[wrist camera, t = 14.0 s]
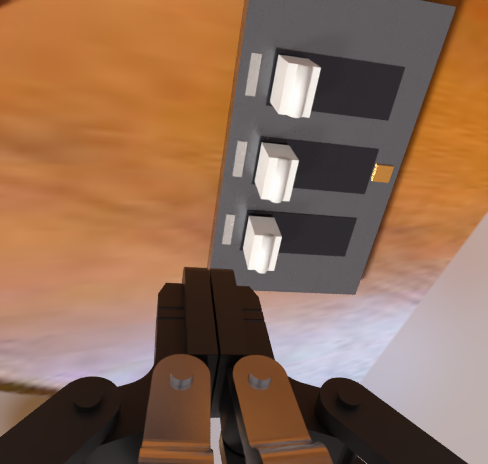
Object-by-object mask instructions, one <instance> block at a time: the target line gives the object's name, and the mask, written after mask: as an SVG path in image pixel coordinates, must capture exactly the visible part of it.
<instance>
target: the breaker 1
mask: <svg viewBox="0 0 488 464" xmlns="http://www.w3.org/2000/svg"><path fill="white" fill-rule="evenodd" d="M281 239H282V236H281V233H280V231H279V228H278V226H277V223H276V221H275V218H272V217H259V216H249V218H248V224H247V229H246V235H245V240H244V245H243V251H244V255H245V260H246V264H247V268H248V270H256V271H257V272H258V273H261V274H264V273H266V272H267V271H274V269H275V265H276V260H277V256H278V252H279V247H280V243H281Z"/></svg>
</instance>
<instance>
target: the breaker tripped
mask: <svg viewBox="0 0 488 464" xmlns="http://www.w3.org/2000/svg"><path fill="white" fill-rule="evenodd" d="M298 162H299V160H298V158H297V157H296V155H295V154H294V152H293V150H292V149H291V147H290V146H289V145H281V144H272V143H263V142H262V144H261V149H260V155H259V160H258V166H257V171H256V177H255V184H256V187H257V189H258V192H259V195H260V198H261V199H266V200H270V201H271V202H274V203H281V201H290V197H291V193H292V188H293V184H294V180H295V175H296V171H297V167H298Z"/></svg>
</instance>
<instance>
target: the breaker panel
mask: <svg viewBox="0 0 488 464" xmlns="http://www.w3.org/2000/svg"><path fill="white" fill-rule="evenodd" d="M455 9H456V7H454V6H449V5H444V4H438V3H433V2H427V1H422V0H245V1H244V8H243V15H242V23H241V30H240V37H239V44H238V51H237V58H236V65H235V72H234V80H233V87H232V94H231V101H230V108H229V115H228V122H227V129H226V137H225V144H224V151H223V158H222V165H221V172H220V179H219V186H218V194H217V201H216V208H215V215H214V222H213V229H212V236H211V243H210V251H209V258H208V265H207V268H208V270H209V268H217V269H233V270H234V274H235V279H236V285H237V286H250V288H251V289H252V290H255V291H279V292H303V293H328V294H352V295H355V294H356V291H357V288H358V285H359V283H360V280H361V277H362V274H363V271H364V268H365V266H366V263H367V260H368V257H369V254H370V251H371V248H372V246H373V243H374V240H375V237H376V234H377V231H378V229H379V226H380V223H381V220H382V217H383V214H384V211H385V209H386V206H387V203H388V200H389V197H390V194H391V191H392V189H393V186H394V183H395V180H396V177H397V174H398V172H399V169H400V166H401V163H402V160H403V157H404V154H405V152H406V149H407V146H408V143H409V140H410V137H411V135H412V132H413V129H414V126H415V123H416V120H417V117H418V115H419V112H420V109H421V106H422V103H423V100H424V97H425V95H426V92H427V89H428V86H429V83H430V80H431V78H432V75H433V72H434V69H435V66H436V63H437V60H438V58H439V55H440V52H441V49H442V46H443V43H444V41H445V38H446V35H447V32H448V29H449V26H450V23H451V21H452V18H453V15H454V12H455ZM278 55H286V56H293V57H299V58H306V59H309V60H311V61H312V62H314V63H315V64H317V65H318V66H319V67H321V70H320V74H319V78H318V83H317V87H316V91H315V96H314V100H313V104H312V109H311V113H310V117H309V118H307V117H301V118H293V117H290V116H288V115H282V114H278V113H277V111H276V110H275V108H274V107H273V106H272V104H271V103H270V98H271V93H272V87H273V82H274V77H275V71H276V66H277V60H278ZM262 142H263V143H272V144H281V145H289V146H290V147H291V149H292V150H293V152H294V154H295V155H296V157H297V158H298V160H299V162H298V167H297V171H296V175H295V180H294V184H293V188H292V193H291V197H290V201H281V203H274V202H271V201H270V200H266V199H261V198H260V195H259V192H258V189H257V187H256V184H255V177H256V171H257V166H258V160H259V155H260V149H261V144H262ZM249 216H259V217H272V218H275V221H276V223H277V226H278V228H279V231H280V233H281V236H282V239H281V243H280V247H279V252H278V256H277V260H276V265H275V269H274V271H267V272H266V273H264V274H261V273H258V272H257V271H256V270H248V268H247V264H246V260H245V255H244V251H243V245H244V240H245V235H246V229H247V224H248V218H249Z"/></svg>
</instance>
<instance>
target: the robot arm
mask: <svg viewBox="0 0 488 464" xmlns="http://www.w3.org/2000/svg"><path fill="white" fill-rule="evenodd" d="M215 417H216V418H219V417H220V422H221V433H220V438H219V449H220V455H221V461H222V464H366V463H367V464H468V463H466V462H465V461H464V460H462V459H461V458H460V457H458V456H457V455H456V454H454V453H453V452H452V451H450V450H449V449H447V448H446V447H445V446H443V445H442V444H441V443H439V442H438V441H437V440H435V439H434V438H433V437H431V436H430V435H428V434H427V433H426V432H424V431H423V430H422V429H420V428H419V427H418V426H416V425H415V424H413V423H412V422H411V421H410V420H408V419H407V418H406V417H404V416H403V415H401V414H400V413H399V412H397V411H396V410H395V409H393V408H392V407H391V406H389V405H388V404H387V403H385V402H384V401H382V400H381V399H380V398H378V397H377V396H376V395H374V394H373V393H371V392H370V391H369V390H368V389H366V388H365V387H364V386H362V385H361V384H359V383H357V382H355V381H353V380H350V379H347V378H332V379H329V380H327V381H326V382H325V383H324V384H323V385H322V387H321V388H319V387H315V386H312V385H308V384H304V383H301V382H298V381H296V380H294V379H292V378H290V377H288V376H287V374H286V372H285V370H284V368H283V367H282V366H281V365H280V364H279V363H278V362H276V361H275V359H274V355H273V351H272V348H271V344H270V340H269V336H268V332H267V328H266V324H265V322H264V316H263V312H262V308H261V305H260V301H259V297H258V296H257V295H256V294H255V292H254V291H253V290H252V289H251V288H250V286H237V285H236V279H235V274H234V270H233V269H217V268H209V270H208V268H194V267H184V270H183V278H182V284H180V283H166V284H165V285H164V286H163V288H162V289H161V291H160V292H159V294H158V305H157V318H156V332H155V354H154V366H153V367H152V369H151V370H150V371H149V373H148V374H147V375H145V376H144V377H143V378H141V379H140V380H137V381H135V382H133V383H130V384H126V385H123V386H119V387H117V386H116V385H115V384H114V383H112V382H111V381H109V380H107V379H105V378H101V377H84V378H80V379H77V380H75V381H73V382H71V383H69V384H68V385H66V386H65V387H63V388H62V389H61V390H60V391H58V392H57V393H56V394H55V395H53V396H52V397H51V398H49V399H48V400H47V401H46V402H45V403H43V404H42V405H41V406H39V407H38V408H37V409H35V410H34V411H33V412H32V413H30V414H29V415H28V416H27V417H25V418H24V419H23V420H22V421H20V422H19V423H18V424H17V425H15V426H14V427H13V428H11V429H10V430H9V431H8V432H6V433H5V434H4V435H2V436H1V437H0V464H214V458H213V450H212V449H211V448H210V418H215ZM358 456H359V457H360V458H361V459H362V460H363V461H362V460H361V459H360V458H359V457H358ZM364 461H365V462H366V463H365V462H364Z"/></svg>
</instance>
